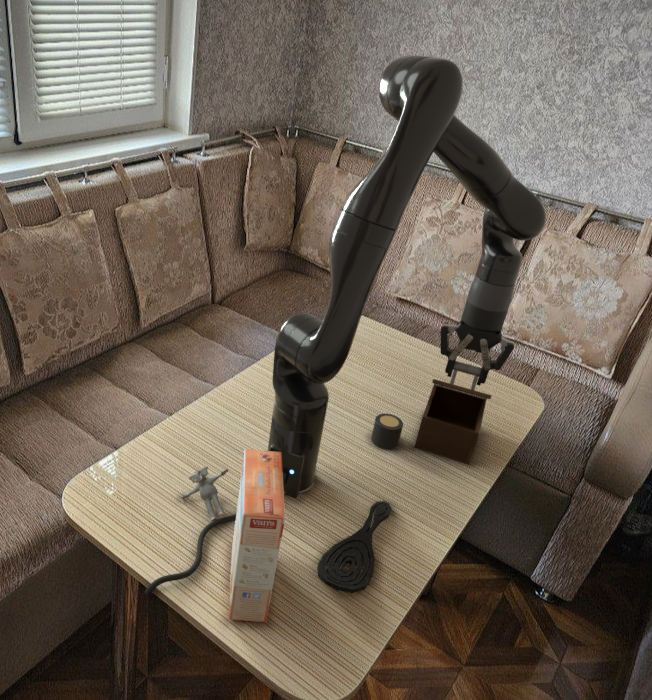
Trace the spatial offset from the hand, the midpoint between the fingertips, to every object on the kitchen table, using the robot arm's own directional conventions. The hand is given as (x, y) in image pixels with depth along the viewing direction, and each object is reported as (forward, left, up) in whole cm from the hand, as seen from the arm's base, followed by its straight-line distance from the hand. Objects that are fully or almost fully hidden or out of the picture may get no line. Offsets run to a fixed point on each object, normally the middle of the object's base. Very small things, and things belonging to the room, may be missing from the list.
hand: (464, 379), depth 132 cm
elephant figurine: (-40, +35, -16) cm, 56 cm away
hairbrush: (-38, +8, -16) cm, 42 cm away
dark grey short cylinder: (-6, +11, -16) cm, 20 cm away
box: (+2, 0, -16) cm, 16 cm away
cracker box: (-53, +22, -16) cm, 60 cm away
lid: (+2, 0, -4) cm, 5 cm away
